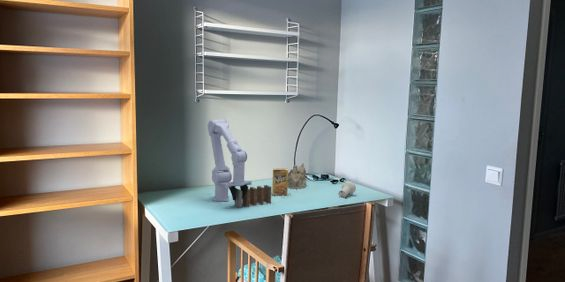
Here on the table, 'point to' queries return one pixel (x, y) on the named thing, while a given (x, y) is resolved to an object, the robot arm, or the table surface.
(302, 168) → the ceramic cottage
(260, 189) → the domino
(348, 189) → the pale grey rounded lump
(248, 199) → the domino
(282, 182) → the candy box
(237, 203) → the domino
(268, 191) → the domino
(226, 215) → the table surface
